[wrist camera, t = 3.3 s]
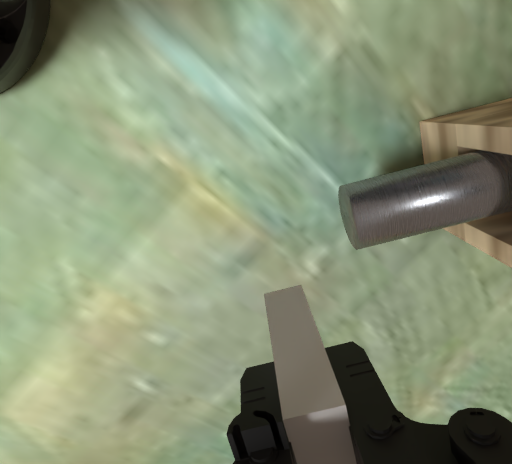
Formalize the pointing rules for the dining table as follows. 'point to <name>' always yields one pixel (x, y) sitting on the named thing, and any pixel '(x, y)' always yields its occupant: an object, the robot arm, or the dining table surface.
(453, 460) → the robot arm
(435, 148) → the brown wooden block
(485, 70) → the dining table surface
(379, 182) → the axle
